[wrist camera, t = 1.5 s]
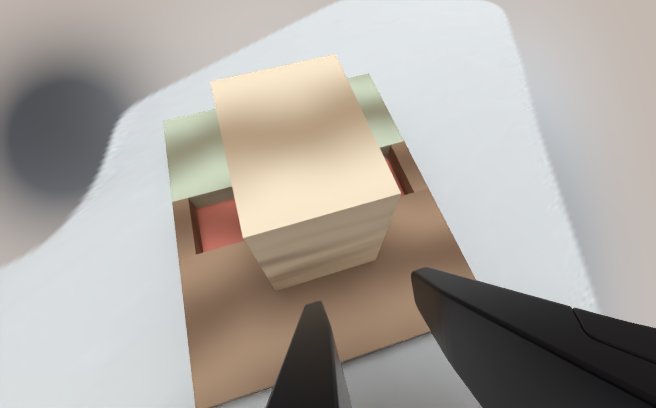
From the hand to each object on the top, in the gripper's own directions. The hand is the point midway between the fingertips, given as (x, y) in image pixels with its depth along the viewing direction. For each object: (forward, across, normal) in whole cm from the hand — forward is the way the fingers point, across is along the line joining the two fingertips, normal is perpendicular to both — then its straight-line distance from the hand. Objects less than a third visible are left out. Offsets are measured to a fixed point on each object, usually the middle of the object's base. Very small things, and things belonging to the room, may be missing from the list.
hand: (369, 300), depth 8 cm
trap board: (+15, 0, +3) cm, 15 cm away
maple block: (+13, 0, +2) cm, 13 cm away
